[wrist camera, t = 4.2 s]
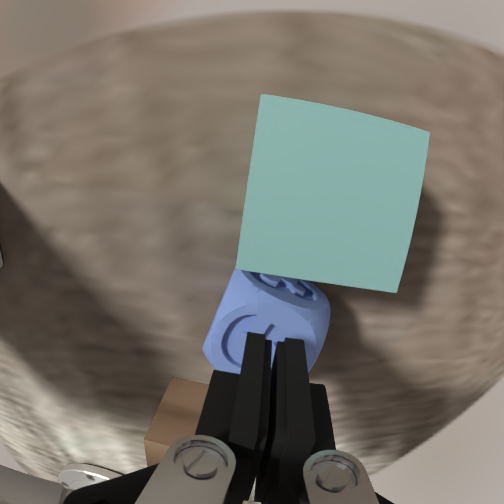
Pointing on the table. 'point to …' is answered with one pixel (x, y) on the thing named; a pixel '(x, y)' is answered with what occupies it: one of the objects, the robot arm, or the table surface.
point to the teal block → (331, 195)
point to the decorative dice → (266, 317)
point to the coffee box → (0, 261)
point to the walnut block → (174, 417)
